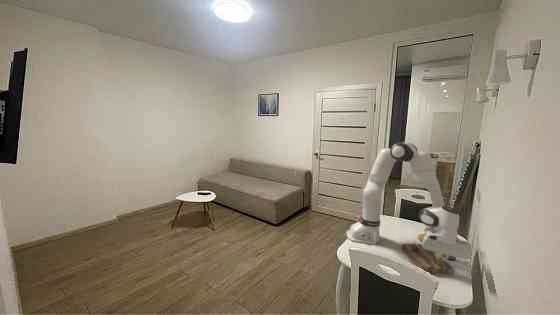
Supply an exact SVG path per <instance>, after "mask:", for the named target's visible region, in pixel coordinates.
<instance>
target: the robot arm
mask: <svg viewBox="0 0 560 315" xmlns="http://www.w3.org/2000/svg"><path fill="white" fill-rule="evenodd" d="M396 161H399V162H405V163H409V164H410V169H411V174H412V179H413V181H414V182H415V184H416V185H418V186H420V187H422V188H425V189H426V190H427V191H428V193H429V197H430V200H431V202H432V206H430V207H425V208H422V209H420V210H419V212H418V219H419V220H420V222H421V223H422V224H423V225H424V226H425V225H427V226H431V227H436V228H437V230H427V231H426V235H425V236H424V238H423V242H422V241H421V242H422V243H421V244H422V247H423V249H425V250H429V251H433V252H437V253H439V255H440V257H441V258H442V260H443V261H444V262H446V261H447V259H448V258H450V257H455V258H458V259H462V260H469V259H470V257H471V255H470V254H471V253H470V250H472V244H471V243H470V242H468V241H466V240H461V239H458V228H459V227H460V226H459V225H460V214H459V211H458V210H457V209H456V208H454V207H451V206H448V205H447V204H446V200H445V197H444V194H443V193H444V192H443V189H442V186H441V184H440V182H439V180H438V177H437V175H436V174H437V173H436V170H435V164H434V161H433V159H432V156H431V154H430V153H429V152H426V151H423V150H422V151H418V148H417V146H416V145H415V144H413V143H411V142H404V141H402V142H397V143H394V144H393V145H392V146H391V148H387V147H385V148H382V149H381V150H380V151H379V152H378V155H377V156H376V158H375V161H374V163H373V164H372V165H373V166H372V169H371V171H370V174H369V176H368V179H367V182H366V184H365V187H364V188H363V191H362V215H361V216H360V215H357V216H356V217H357V219H358V220H359V221H357V222H355V223H353V224H351V225H350V229H348V230H347V231H346V236H347V238H348V240H350V241H351V240H352V241H351V242H354V241H356V242H355V243H360V244H361V243H362V244H369V245H377V243H379V242H380V241H381V239H382V238H381V234H380V227H381V210H382V209H381V208H382V206H381V203H382V195H383V191H384V188H385V186H386V184H387V182H388V180H389V178H390V175H391V172H392V170H393V167H394V165H395V163H396ZM351 235H352V236H351ZM350 236H351V237H350ZM349 237H350V238H349ZM443 255H445V256H443Z"/></svg>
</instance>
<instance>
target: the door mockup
mask: <svg viewBox="0 0 560 315" xmlns="http://www.w3.org/2000/svg"><path fill="white" fill-rule="evenodd" d="M401 250H402V251H403V253H404V254H405V255H406V256H407V257H408V259H409V260H410V261H411V262H412V263H413V265H414V266H415V265H416V266H417V267H419V268H421V269H423V270H424V271H426V272H429V273H430V274H429V275H442V276H443V275H445V276H454V274H455V267H453V265H452V264H451V263H449V262H448V261H447V260H446V262H444V264H443V266H439V265H437V263H436V261H435V259H434V257H433V255H432V253H431V252H432V251H429V250H425V249H423V247H422V243H420V244H419V243H402V247H401ZM416 266H415V267H416ZM417 267H416V268H417Z"/></svg>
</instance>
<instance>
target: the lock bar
mask: <svg viewBox="0 0 560 315" xmlns="http://www.w3.org/2000/svg"><path fill="white" fill-rule="evenodd" d="M431 253H432V255H433V257H434V259H435V261H436V263H437V265H439V266H443V264H444V261H443V260H442V258H441V257H440V255H439V253H437V252H433V251H432V252H431Z"/></svg>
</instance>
